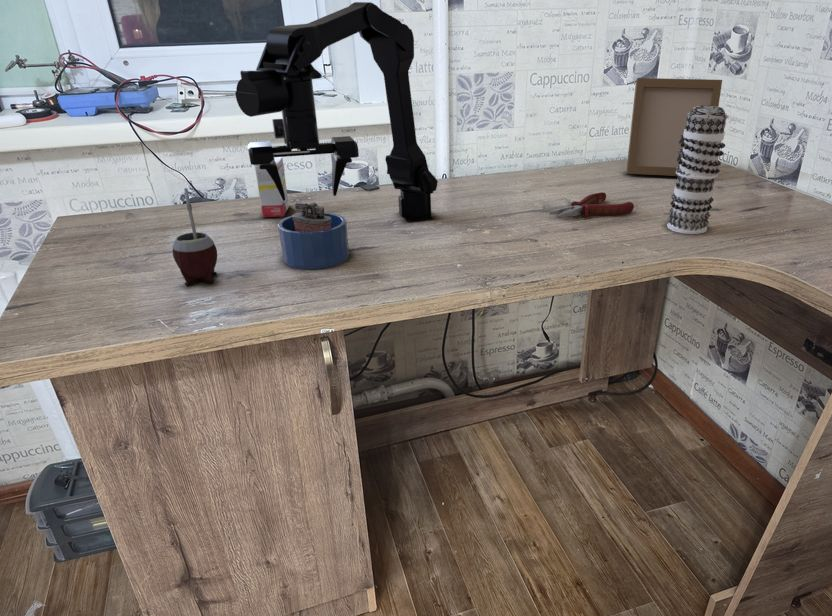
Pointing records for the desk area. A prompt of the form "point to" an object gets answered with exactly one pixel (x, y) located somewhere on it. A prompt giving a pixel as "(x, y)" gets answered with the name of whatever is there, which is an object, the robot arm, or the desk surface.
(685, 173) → the decorative candle
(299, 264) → the blue round bin
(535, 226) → the desk surface
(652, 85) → the photo frame
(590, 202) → the pliers
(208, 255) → the mate gourd
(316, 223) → the lighter
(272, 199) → the ink box
